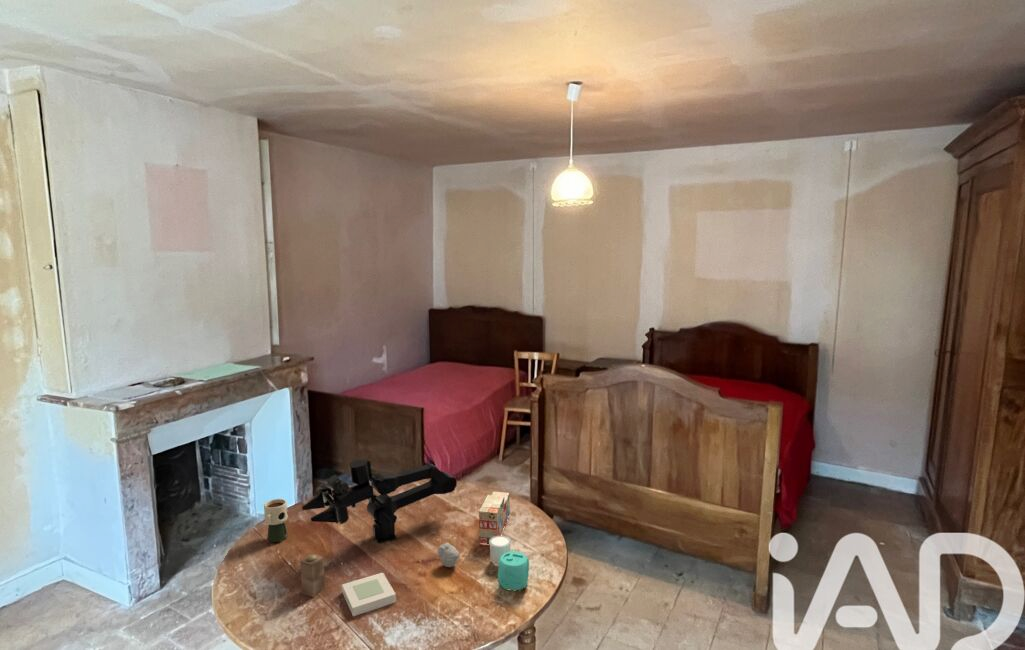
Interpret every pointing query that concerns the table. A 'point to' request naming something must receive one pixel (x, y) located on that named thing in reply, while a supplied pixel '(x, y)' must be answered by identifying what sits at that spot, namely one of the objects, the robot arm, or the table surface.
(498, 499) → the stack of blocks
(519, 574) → the teal lidded canister
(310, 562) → the walnut pillar
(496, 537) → the white cylinder
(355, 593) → the baseplate
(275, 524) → the character mug
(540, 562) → the table surface
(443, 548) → the grey rock
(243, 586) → the table surface
